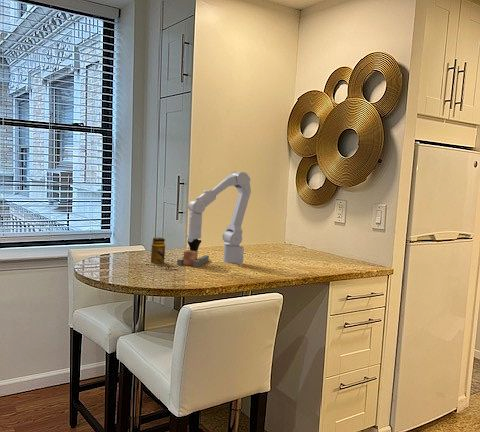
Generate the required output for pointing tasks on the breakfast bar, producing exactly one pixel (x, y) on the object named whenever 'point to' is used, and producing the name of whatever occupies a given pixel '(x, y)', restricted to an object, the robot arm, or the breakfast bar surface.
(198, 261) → the chute
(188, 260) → the block
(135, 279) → the breakfast bar surface
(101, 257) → the breakfast bar surface
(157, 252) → the condiment
